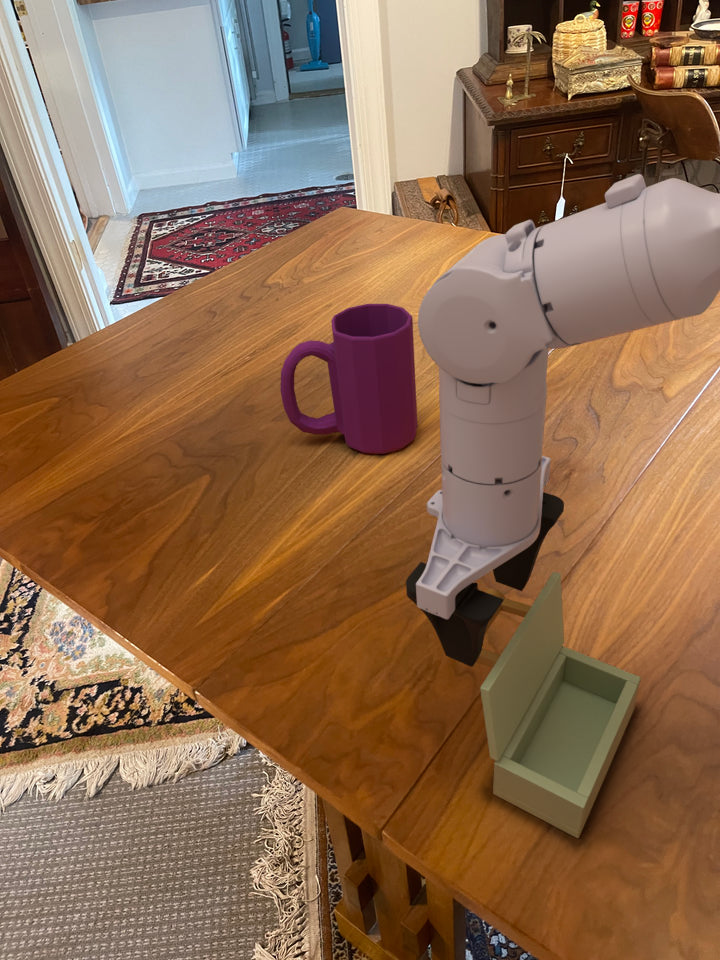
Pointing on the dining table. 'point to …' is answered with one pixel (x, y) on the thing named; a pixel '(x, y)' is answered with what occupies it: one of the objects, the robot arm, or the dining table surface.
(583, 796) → the box
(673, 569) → the dining table surface
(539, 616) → the lid
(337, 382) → the mug
